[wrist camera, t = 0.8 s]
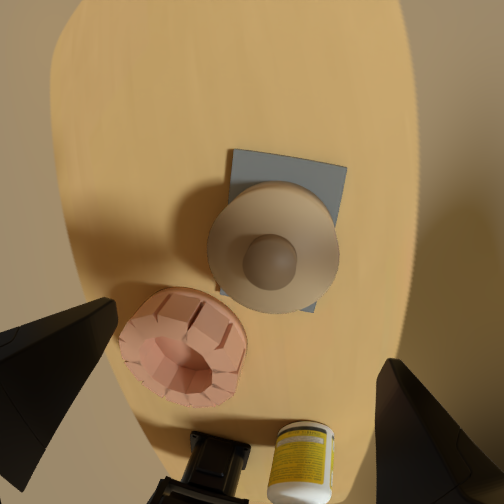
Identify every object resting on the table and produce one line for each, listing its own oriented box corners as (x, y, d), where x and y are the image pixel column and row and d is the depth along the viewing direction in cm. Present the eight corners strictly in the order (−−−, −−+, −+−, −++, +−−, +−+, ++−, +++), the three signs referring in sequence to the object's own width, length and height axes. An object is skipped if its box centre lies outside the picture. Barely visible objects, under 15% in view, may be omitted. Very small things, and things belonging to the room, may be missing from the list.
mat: (313, 309, 19) (313, 313, 18) (221, 291, 20) (219, 294, 19) (346, 167, 15) (347, 168, 15) (235, 148, 16) (233, 149, 15)
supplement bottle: (266, 428, 25) (246, 518, 16) (315, 412, 23) (306, 513, 14) (297, 451, 26) (285, 532, 17) (344, 437, 24) (341, 526, 15)
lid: (321, 296, 18) (322, 335, 14) (218, 276, 19) (198, 310, 15) (346, 192, 15) (356, 211, 12) (227, 172, 16) (204, 185, 13)
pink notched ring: (241, 385, 23) (231, 418, 20) (147, 359, 24) (128, 386, 21) (254, 302, 19) (243, 335, 16) (138, 275, 20) (111, 301, 17)
